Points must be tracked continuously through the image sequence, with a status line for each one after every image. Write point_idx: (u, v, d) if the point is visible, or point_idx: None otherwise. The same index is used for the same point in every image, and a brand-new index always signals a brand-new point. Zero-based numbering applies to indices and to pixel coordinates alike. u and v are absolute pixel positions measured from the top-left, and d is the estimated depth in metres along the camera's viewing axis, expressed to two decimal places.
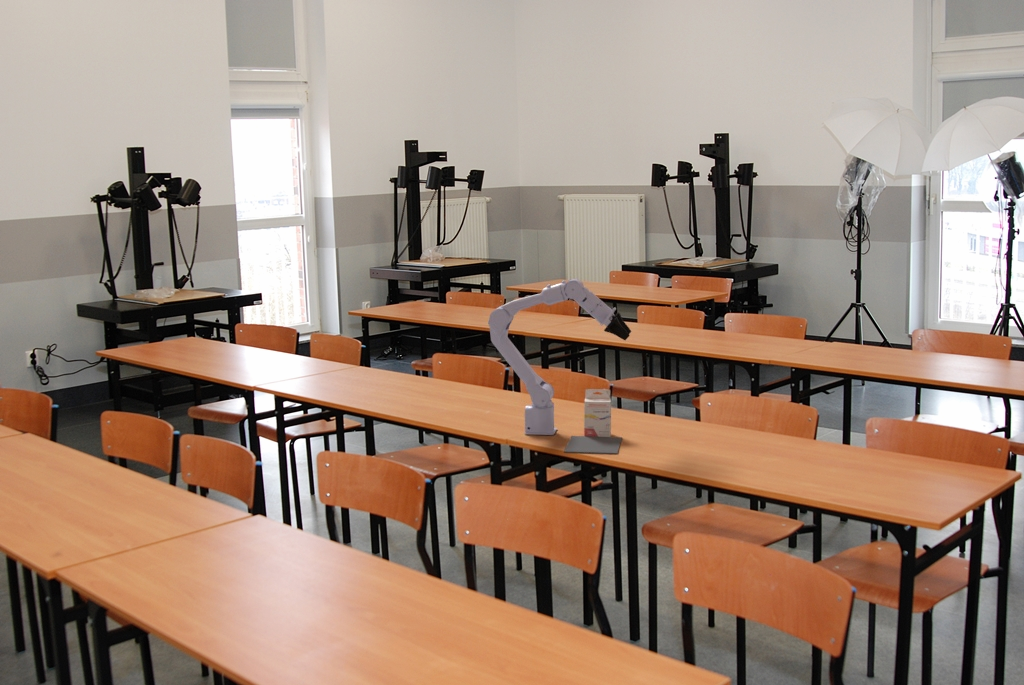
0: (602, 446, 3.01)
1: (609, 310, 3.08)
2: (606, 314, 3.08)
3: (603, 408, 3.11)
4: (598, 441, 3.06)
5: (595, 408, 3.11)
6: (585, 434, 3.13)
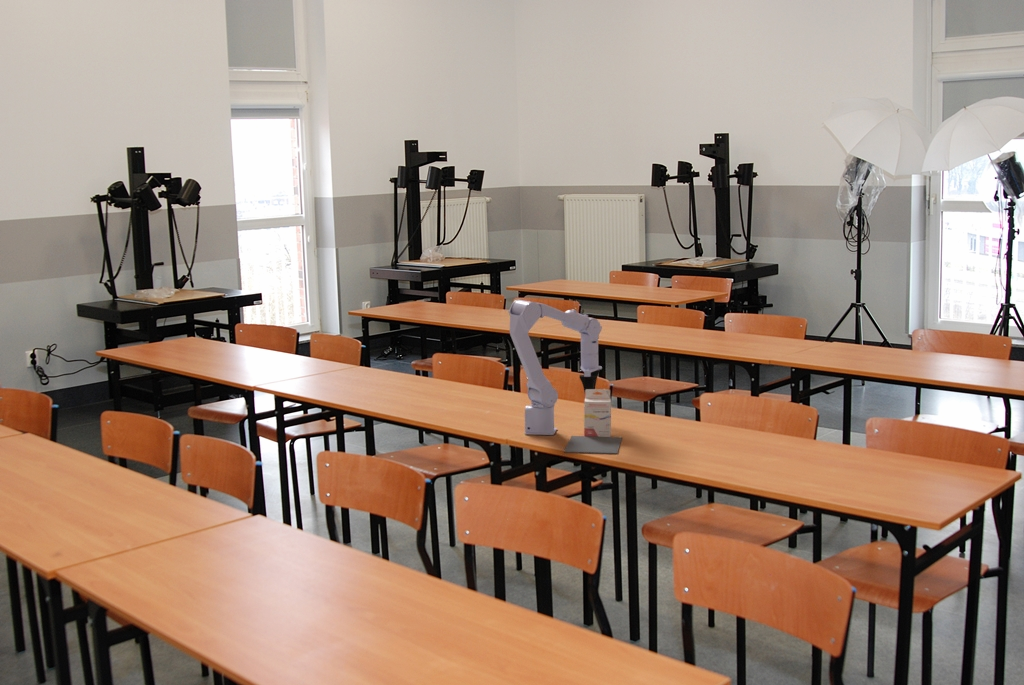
0: (602, 446, 3.01)
1: (596, 365, 3.24)
2: (591, 366, 3.23)
3: (603, 408, 3.11)
4: (598, 441, 3.06)
5: (595, 408, 3.11)
6: (585, 434, 3.13)
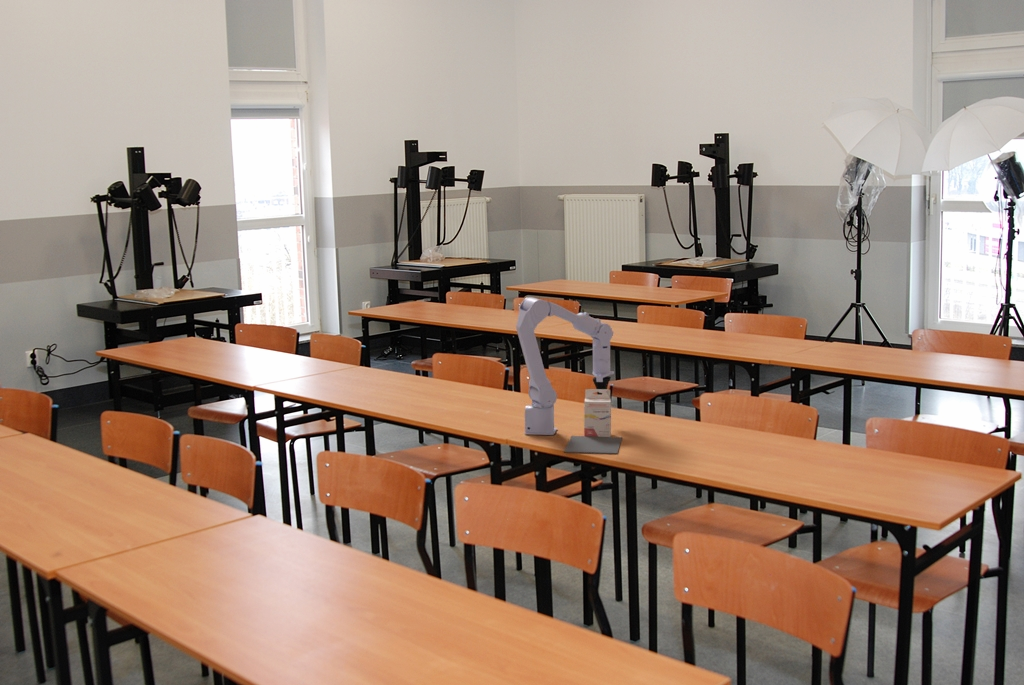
0: (602, 446, 3.01)
1: (608, 370, 3.23)
2: (604, 371, 3.22)
3: (603, 408, 3.11)
4: (598, 441, 3.06)
5: (595, 408, 3.11)
6: (585, 434, 3.13)
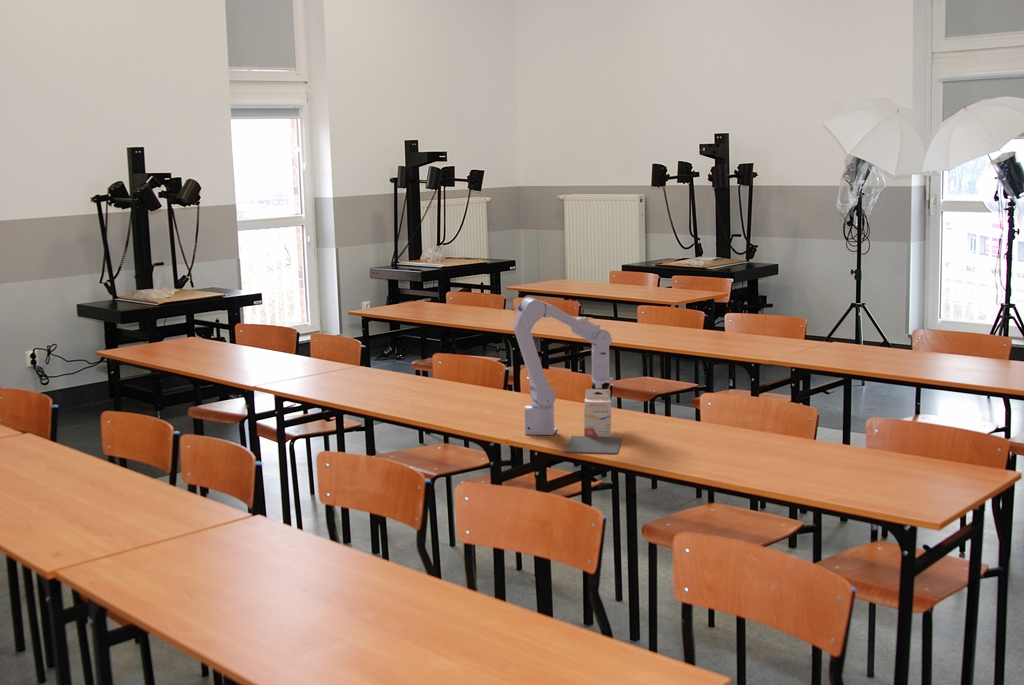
0: (602, 446, 3.01)
1: (607, 377, 3.20)
2: (603, 378, 3.19)
3: (603, 408, 3.11)
4: (598, 441, 3.06)
5: (595, 408, 3.11)
6: (585, 434, 3.13)
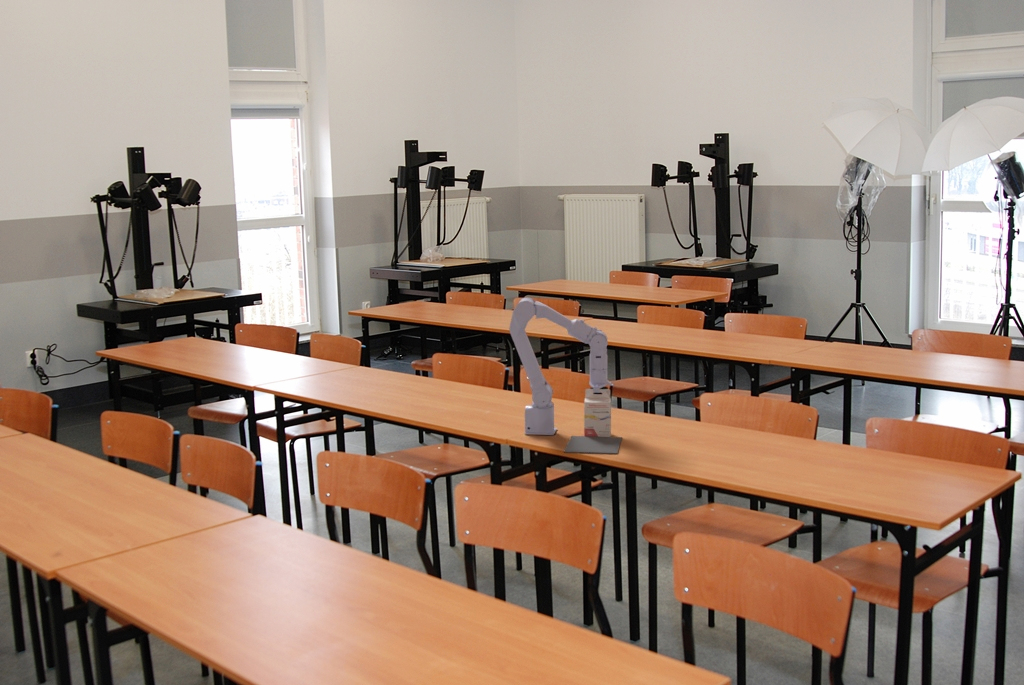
0: (602, 446, 3.01)
1: (605, 381, 3.14)
2: (601, 382, 3.13)
3: (603, 409, 3.10)
4: (598, 441, 3.06)
5: (595, 409, 3.11)
6: (585, 434, 3.13)
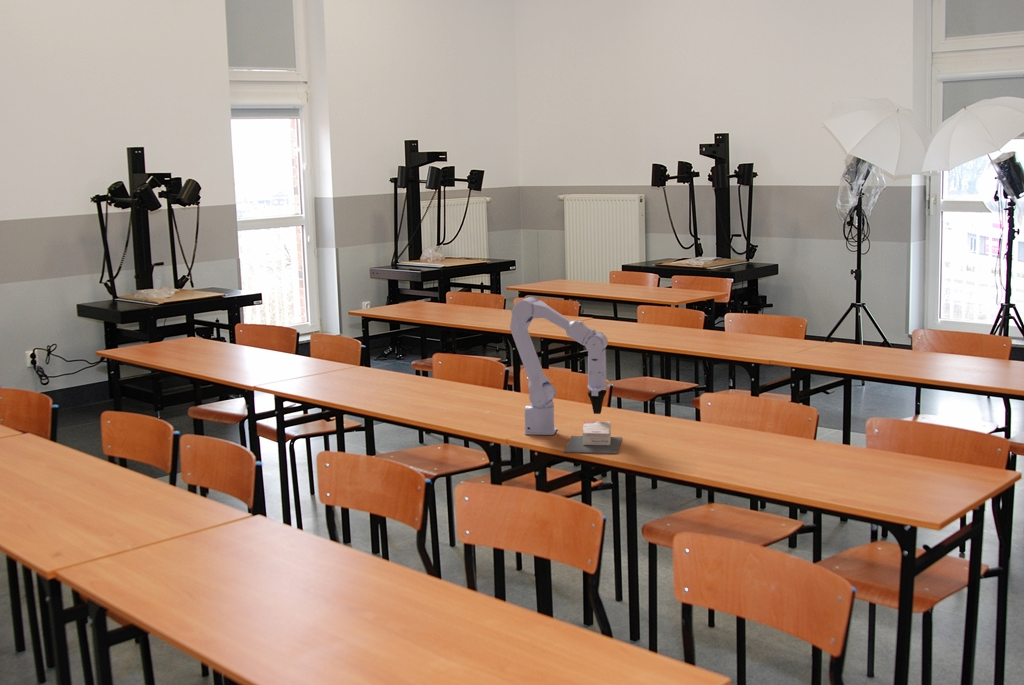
0: (602, 446, 3.01)
1: (604, 384, 3.10)
2: (599, 385, 3.09)
3: None
4: None
5: None
6: None
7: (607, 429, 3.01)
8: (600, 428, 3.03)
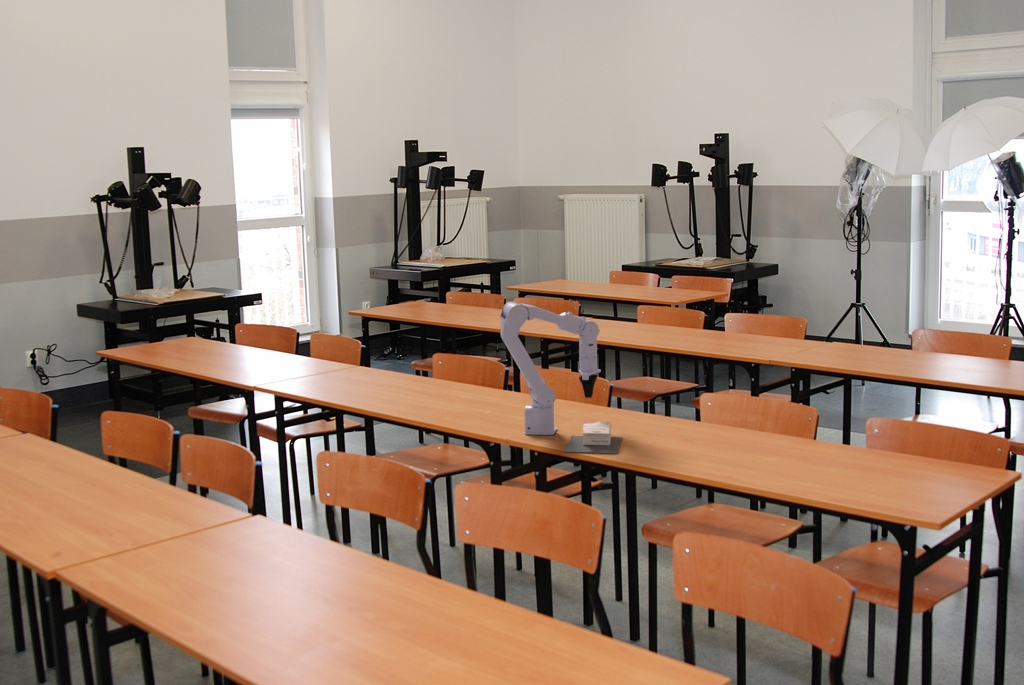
0: (602, 446, 3.01)
1: (595, 368, 3.19)
2: (590, 369, 3.18)
3: None
4: None
5: None
6: None
7: (607, 429, 3.01)
8: (600, 428, 3.03)
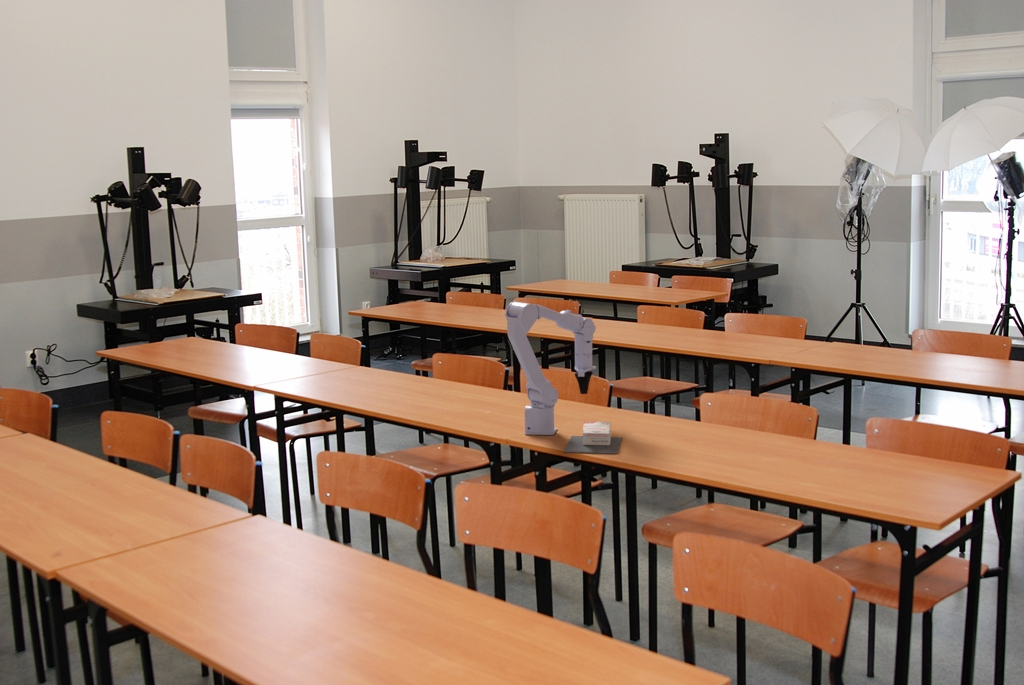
0: (602, 446, 3.01)
1: (590, 365, 3.25)
2: (585, 366, 3.24)
3: None
4: None
5: None
6: None
7: (607, 429, 3.01)
8: (600, 428, 3.03)
